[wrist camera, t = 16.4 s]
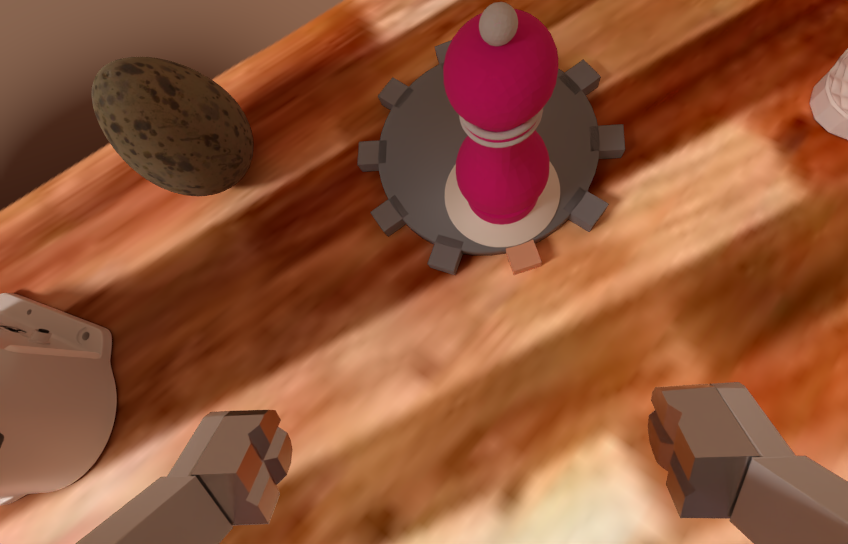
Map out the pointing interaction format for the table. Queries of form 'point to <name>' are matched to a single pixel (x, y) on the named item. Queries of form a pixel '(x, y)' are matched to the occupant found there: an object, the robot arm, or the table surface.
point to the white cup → (832, 99)
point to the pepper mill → (501, 109)
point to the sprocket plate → (436, 169)
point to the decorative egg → (173, 125)
